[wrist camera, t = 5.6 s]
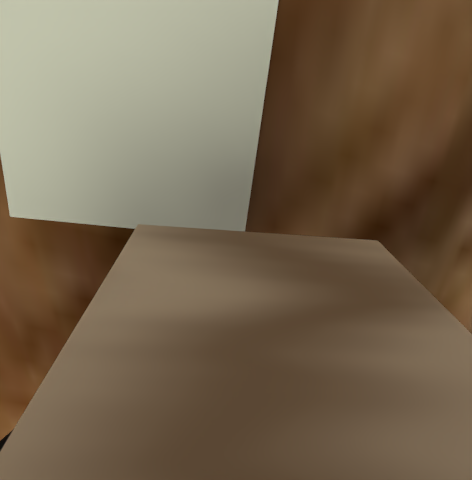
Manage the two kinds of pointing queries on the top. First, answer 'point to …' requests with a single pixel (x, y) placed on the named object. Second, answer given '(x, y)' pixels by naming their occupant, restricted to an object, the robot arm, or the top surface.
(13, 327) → the top surface
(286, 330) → the birch cube
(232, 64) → the sage board
